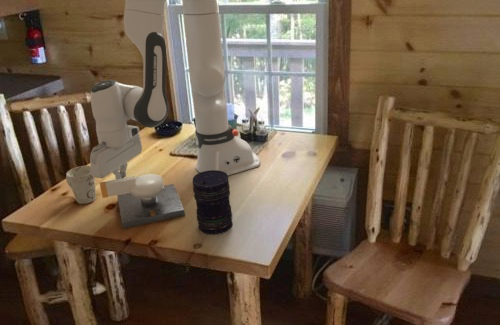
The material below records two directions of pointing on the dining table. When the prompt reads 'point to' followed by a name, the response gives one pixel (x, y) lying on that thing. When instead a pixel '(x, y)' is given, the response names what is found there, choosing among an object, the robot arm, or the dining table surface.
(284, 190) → the dining table surface
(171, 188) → the plate
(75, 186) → the mug
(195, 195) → the dark blue ribbed cylinder
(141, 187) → the white handled oval piece
